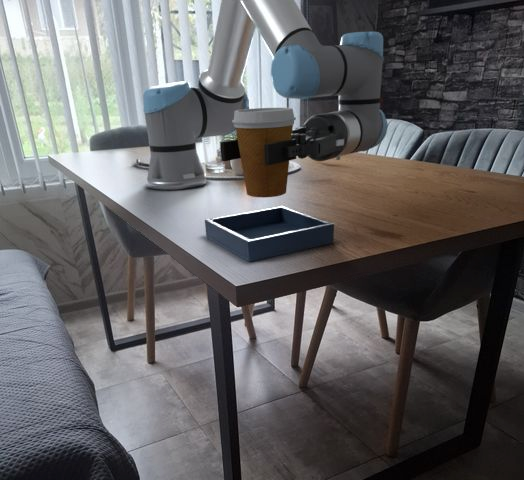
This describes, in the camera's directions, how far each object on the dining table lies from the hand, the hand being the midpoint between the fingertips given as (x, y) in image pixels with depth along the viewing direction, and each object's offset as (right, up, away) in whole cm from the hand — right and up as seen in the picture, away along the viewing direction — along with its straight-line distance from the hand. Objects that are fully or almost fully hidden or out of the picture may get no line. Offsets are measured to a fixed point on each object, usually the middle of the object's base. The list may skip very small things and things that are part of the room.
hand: (243, 153), depth 71 cm
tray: (+4, -11, +10) cm, 15 cm away
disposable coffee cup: (+3, -4, +6) cm, 8 cm away
